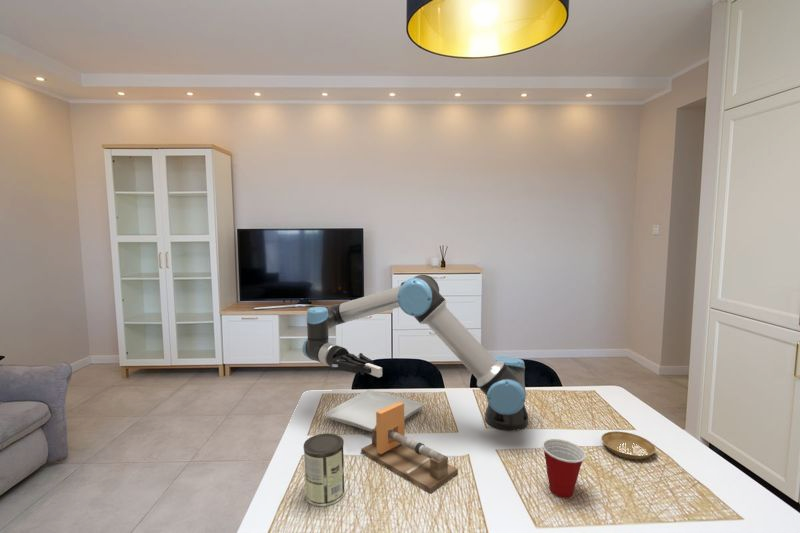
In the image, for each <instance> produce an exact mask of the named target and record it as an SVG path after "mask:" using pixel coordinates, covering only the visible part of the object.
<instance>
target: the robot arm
mask: <svg viewBox="0 0 800 533" xmlns="http://www.w3.org/2000/svg"><path fill="white" fill-rule="evenodd" d="M398 308H400V309H401V311H403V313H405V314H406V315H408V316H411V317H414V318H415V320H416V321H418V323H419V324H421V325H427V326H428V327H429V328H430V329H431V330H432V331H433V332H434V333H435V334H436V336H437V337H438V338H439V339H440V340H441V342H443V344H445V346H446V347H447V348H448V349H449V350H450V351H451V352H452V353H453V355H455V356H456V358H457V359H458V360H459V361H460V362H461V363H462V364H463V365H464V366H465V367H466V368H467V370H468V371H469V372H470V373H471V374H472V375H473V376H474V377H475V379H476V386H477V387H478V388H479V390H480V391H481V392H482V393H483V394H484V395H485V396H486V401H487V403H488V404H487V406H486V409H485V412H484V421H485V422H486V424H488V425H489V426H491V427H493V428H495V429H499V430H503V431H520V430H523V429H525V428H527V427H528V425H529V415H528V411H527V408H526V404H525V403H526V398H527V392H526V383H525V370H526V366H525V361H524V360H523V359H521V358H518V357H513V356H495V357H493V356H492V354H490V352H488V350H486V348H485V347H484V346H483V345H482V344H481V343H480V342H479V340H477V338H475V336H473V334H472V333H471V332H470V331H469V330H468V328H466V327H465V326H464V324H462V323H461V321H460V320H459V319H458V318H457V317H456V316H455V315H454V314H453V313H452V312H451V311H450V309H448V308H447V300H446V298H444V296H443V295H442V294H441V293H440V287H439V284H438V282H437V280H436V279H435V278H433V277H432V276H430V275H427V274H419V275H415V276H414V277H411V278H408V279H407V280H406V281H403V282H401V283H400V284H399V285H398V286H396V287H391V288H389V289H385V290H382V291H378V292H375V293H372V294H369V295H366V296H362V297H358V298H356V299H353V300H349V301H346V302H343V303H340V304H339V303H338V304H334V305H333V304H332V305H330V306H328V307H324V306H314V307H310V308H308V309H307V311H306V331H307V339H306V340H304V343H303V345H302V350H301V351H302V353H303V355H304V356H305V357H306V358H308V359H310V360H312V361H316V362H317V363H321V364H324V365H326V366H328V367H331V368H332V370H337V371H344V372H348V373H352V374H359V373H360V375H362V376H363V375H365V374H368V375H371V376H373V377H376V378H381V377H383V367H381V366H378V365H376V364H374V360H372V359H371V358H369V357H367V356H365V355H364V354H363V353H361V352H359V354H357V355H356V354H353V353H351V352H349V350H348V349H347V348H345V347H343V346H341V345H337V344H333V343H331V342H329V330H331V329H332V328H334V327H335V326H337V325H342V324H344V323H348V322H352V321H355V320H359V319H362V318H366V317H369V316H373V315H376V314H381V313H384V312H387V311H391V310H394V309H398Z"/></svg>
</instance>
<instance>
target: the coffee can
mask: <svg viewBox="0 0 800 533" xmlns="http://www.w3.org/2000/svg"><path fill="white" fill-rule="evenodd" d="M344 444H345V443H344V439H343V438H342V436H340V435H338V434H335V433H327V432H326V433H320V434H315V435H312V436H310V437H309V438H307V439H306V440H305V441H304V443H303V453H304V454H303V455H304V458H303V459H304V479H305V480H304V481H305V482H304V483H305V484H304V485H305V500H306V501H307V503H309V504H310V505H312V506H315V507H328V506H331V505H334V504H336V503H338V502H339V501H341V500H342V499H343V497H344V495H345V492H346V491H345V466H344V465H345V463H344V462H345V461H344Z"/></svg>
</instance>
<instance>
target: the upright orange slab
mask: <svg viewBox="0 0 800 533" xmlns="http://www.w3.org/2000/svg"><path fill="white" fill-rule="evenodd" d="M393 428H394V429H393ZM391 429H392V430H393V431H395V432H397V433H399V434H401V435H403V436H405V420H404V403H402V402H397V403H395V404H393V405H391V406H388V407H386V408H384V409H381V410H379V411H377V412H376V435H377V452H378V453H380V454H382V453H384V452H386V451H388V450H390V449H392V448H394V447H395V446H397V445H399V444H400V443H398V442H396V441H394V440H392V439H389V440H388V431H389V430H391Z"/></svg>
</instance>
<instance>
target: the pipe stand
mask: <svg viewBox="0 0 800 533" xmlns="http://www.w3.org/2000/svg"><path fill="white" fill-rule="evenodd" d="M389 439H392V440H394V441H396V442H398V443H400V444H399V445H397V446H395V447H394V448H392V449H390V450H388V451H386V452H384V453H382V454H380V453H378V452H377V435H376V426H375V428H373V429H372V432H371V443H370V444H368V445H366V446H364V447H362V448H360V450H361V452H360V453H361V454H362V456H364V457H367V458H368V459H370V460H372V461H374V462H375V463H378V464H379V465H381V466H382V467H384V468H386V469H387V470H390V471H391V472H393V473H394V474H396V475H399V477H401V478H403V479H404V480H407V481H408V482H410V483H411V484H413V485H415V486H416V487H419V488H420V489H421V490H423V491H425V492H427V493H429V494H432V493H433V492H435V491H436V490H437V489H440V488H441V486H444V484H446V483H447V482H448V481H450V480H451V479H453V478H454V477H456V476H457V475H458V474H459V468H458V467H455V466H453V465H451V464H449V457H448V456H446V455H445V454H442V453H440V452H438V451H436V450H434V449H432V448H429V447H428V446H426V445H425V444H424V443H423V442H420V441H419V442H417V441H415V440H413V439H412V438H409V437H408V436H405V435H404V436H403V435H401V434H399V433H397V432H395V431H394V429H392V430H389V431H388V440H389Z"/></svg>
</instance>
